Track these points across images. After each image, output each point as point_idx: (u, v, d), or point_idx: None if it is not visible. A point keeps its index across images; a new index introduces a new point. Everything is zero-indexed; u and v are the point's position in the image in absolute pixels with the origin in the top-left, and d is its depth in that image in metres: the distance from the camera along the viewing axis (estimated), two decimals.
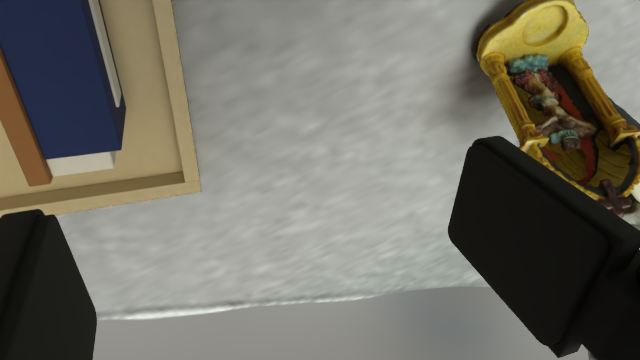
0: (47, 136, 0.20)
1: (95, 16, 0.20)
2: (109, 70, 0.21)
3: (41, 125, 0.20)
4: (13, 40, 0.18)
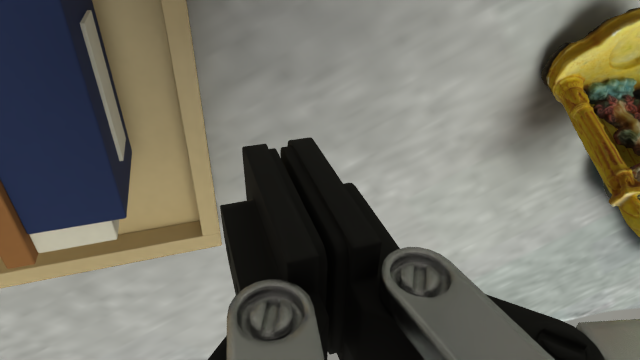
0: (29, 207, 0.16)
1: (91, 50, 0.15)
2: (110, 116, 0.17)
3: (20, 194, 0.15)
4: None
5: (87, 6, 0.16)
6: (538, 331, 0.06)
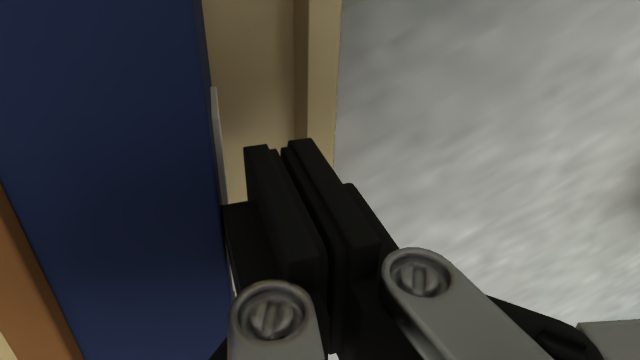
0: None
1: (221, 154, 0.10)
2: None
3: None
4: (59, 236, 0.08)
5: (209, 79, 0.11)
6: (538, 331, 0.06)
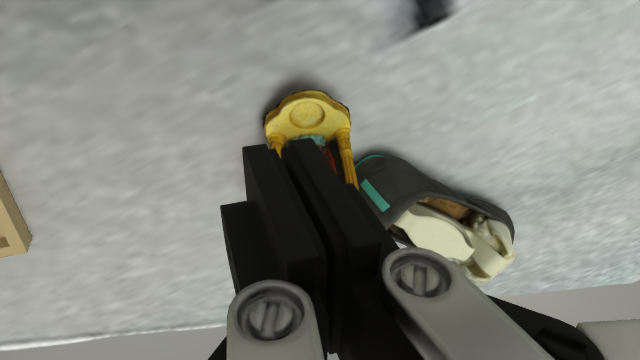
0: None
1: None
2: None
3: None
4: None
5: None
6: (538, 331, 0.06)
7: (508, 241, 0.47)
